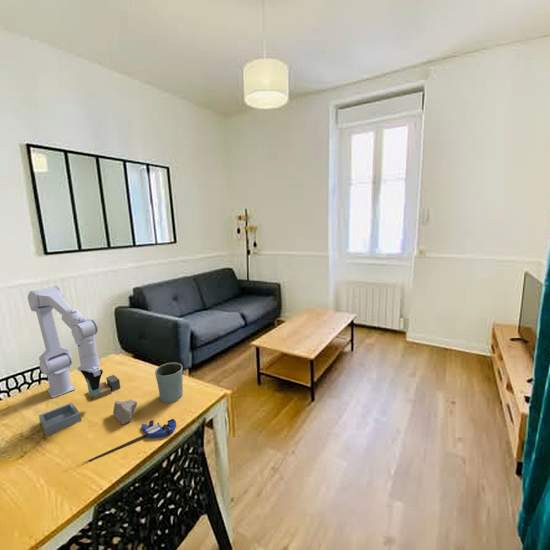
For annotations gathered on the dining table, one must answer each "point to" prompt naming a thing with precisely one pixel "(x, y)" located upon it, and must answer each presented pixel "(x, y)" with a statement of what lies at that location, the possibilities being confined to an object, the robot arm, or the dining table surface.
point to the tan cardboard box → (103, 390)
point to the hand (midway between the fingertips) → (93, 387)
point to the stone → (124, 410)
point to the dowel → (91, 392)
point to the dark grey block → (113, 382)
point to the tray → (59, 418)
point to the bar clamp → (147, 434)
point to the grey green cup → (169, 382)
